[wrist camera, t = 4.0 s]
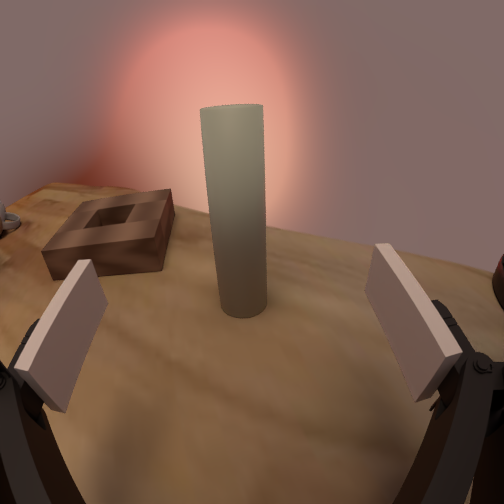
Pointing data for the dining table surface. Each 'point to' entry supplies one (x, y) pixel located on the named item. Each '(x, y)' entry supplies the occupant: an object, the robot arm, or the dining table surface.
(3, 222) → the ceramic mug
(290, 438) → the dining table surface
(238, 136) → the peg
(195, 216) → the dining table surface
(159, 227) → the socket block
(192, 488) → the dining table surface
